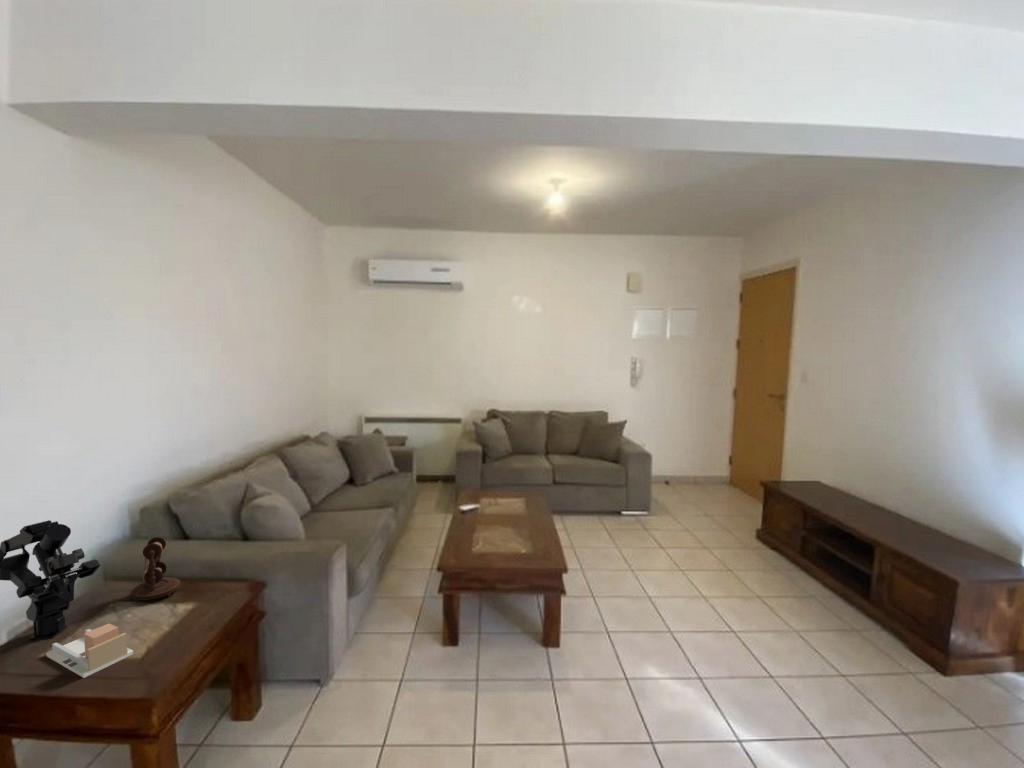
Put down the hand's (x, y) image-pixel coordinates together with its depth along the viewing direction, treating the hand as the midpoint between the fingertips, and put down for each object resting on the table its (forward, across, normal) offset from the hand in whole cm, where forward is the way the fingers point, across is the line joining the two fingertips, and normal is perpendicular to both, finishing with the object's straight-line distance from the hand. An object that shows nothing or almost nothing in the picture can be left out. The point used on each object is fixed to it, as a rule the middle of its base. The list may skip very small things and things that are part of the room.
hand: (71, 601), depth 149 cm
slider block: (+21, -1, -4) cm, 21 cm away
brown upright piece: (+2, +31, +16) cm, 35 cm away
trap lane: (+17, -1, +2) cm, 17 cm away
